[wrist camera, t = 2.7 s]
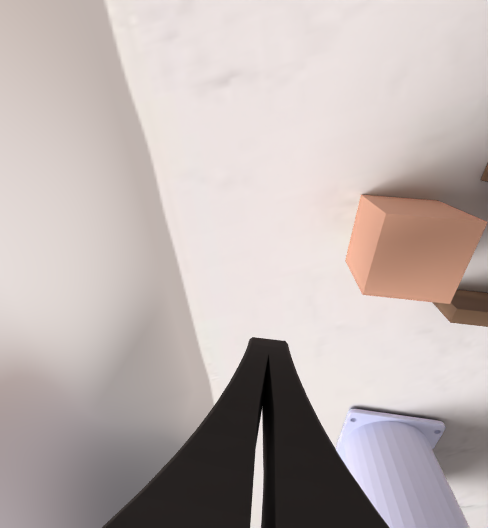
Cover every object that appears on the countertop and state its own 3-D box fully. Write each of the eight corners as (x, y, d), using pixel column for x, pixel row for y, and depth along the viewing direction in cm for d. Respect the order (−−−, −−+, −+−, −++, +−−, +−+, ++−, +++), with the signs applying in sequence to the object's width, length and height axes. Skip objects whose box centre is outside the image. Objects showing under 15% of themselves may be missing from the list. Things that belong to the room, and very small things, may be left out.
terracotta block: (413, 266, 18) (450, 303, 14) (345, 260, 18) (362, 294, 15) (437, 200, 16) (487, 222, 12) (360, 194, 17) (385, 213, 13)
